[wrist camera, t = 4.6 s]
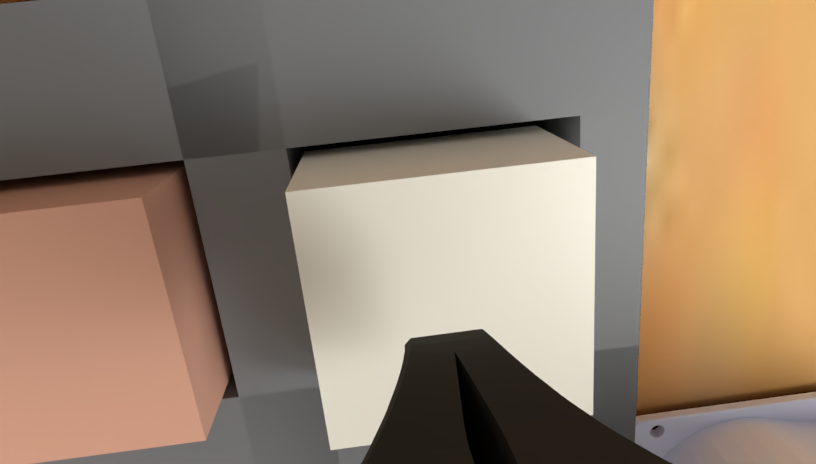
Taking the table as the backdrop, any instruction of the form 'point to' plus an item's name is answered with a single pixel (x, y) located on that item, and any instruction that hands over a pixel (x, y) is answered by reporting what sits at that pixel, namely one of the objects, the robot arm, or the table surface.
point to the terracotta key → (105, 315)
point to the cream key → (444, 260)
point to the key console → (315, 125)
